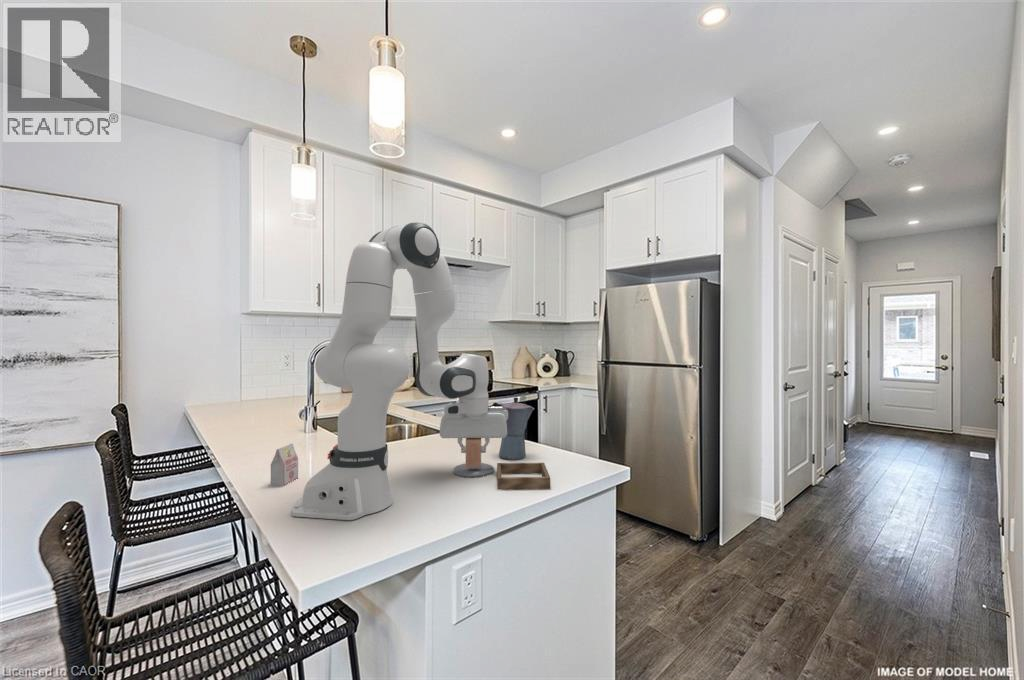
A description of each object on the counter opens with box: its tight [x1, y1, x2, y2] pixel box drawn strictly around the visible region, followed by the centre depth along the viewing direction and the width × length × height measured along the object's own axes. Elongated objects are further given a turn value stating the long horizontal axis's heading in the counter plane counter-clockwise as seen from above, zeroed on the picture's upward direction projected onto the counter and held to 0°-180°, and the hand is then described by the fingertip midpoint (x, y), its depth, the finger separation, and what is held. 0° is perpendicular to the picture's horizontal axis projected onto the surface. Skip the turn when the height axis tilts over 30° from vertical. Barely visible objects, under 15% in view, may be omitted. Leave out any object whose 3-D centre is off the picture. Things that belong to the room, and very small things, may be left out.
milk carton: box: [270, 443, 299, 487], centre depth 124 cm, size 4×7×10 cm, turn 173°
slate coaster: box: [453, 462, 495, 479], centre depth 134 cm, size 12×12×1 cm
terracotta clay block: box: [465, 438, 482, 467], centre depth 134 cm, size 8×4×8 cm, turn 3°
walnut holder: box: [496, 462, 551, 490], centre depth 126 cm, size 14×14×3 cm
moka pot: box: [491, 397, 535, 461], centre depth 150 cm, size 10×15×20 cm, turn 89°
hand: (473, 452), depth 134 cm, fingers closed on terracotta clay block, 4 cm apart
